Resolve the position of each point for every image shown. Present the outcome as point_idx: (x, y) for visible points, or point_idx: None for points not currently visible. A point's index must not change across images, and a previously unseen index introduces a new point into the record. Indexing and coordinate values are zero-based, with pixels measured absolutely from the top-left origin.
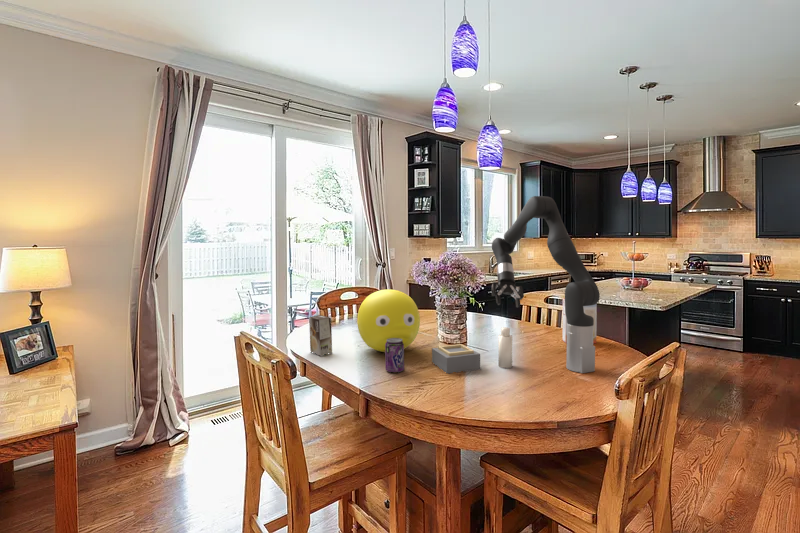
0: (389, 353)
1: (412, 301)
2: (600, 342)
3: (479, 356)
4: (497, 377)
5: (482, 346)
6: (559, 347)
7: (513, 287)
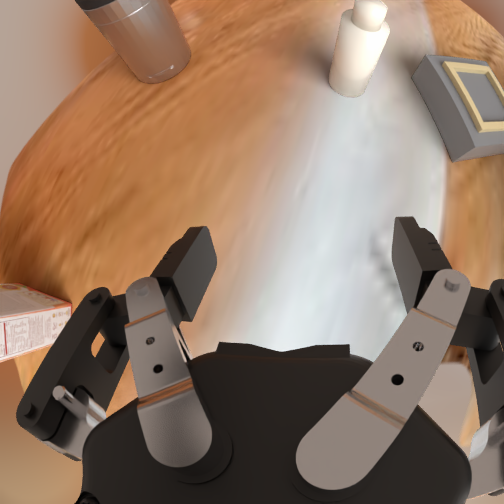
0: None
1: None
2: None
3: (425, 59)
4: None
5: (374, 310)
6: (102, 260)
7: (138, 404)
